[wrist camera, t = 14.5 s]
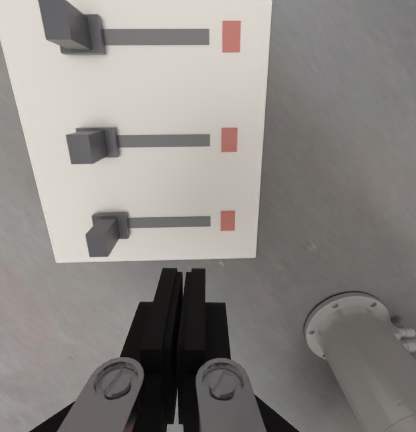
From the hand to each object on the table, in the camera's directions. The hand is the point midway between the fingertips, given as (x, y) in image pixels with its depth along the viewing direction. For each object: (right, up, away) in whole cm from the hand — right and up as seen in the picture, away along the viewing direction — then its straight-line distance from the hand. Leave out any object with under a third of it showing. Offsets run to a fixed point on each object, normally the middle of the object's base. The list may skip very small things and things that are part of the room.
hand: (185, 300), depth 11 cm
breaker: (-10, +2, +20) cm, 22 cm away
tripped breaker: (-10, +19, +13) cm, 25 cm away
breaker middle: (-10, +11, +16) cm, 22 cm away
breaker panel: (-5, +12, +20) cm, 24 cm away
